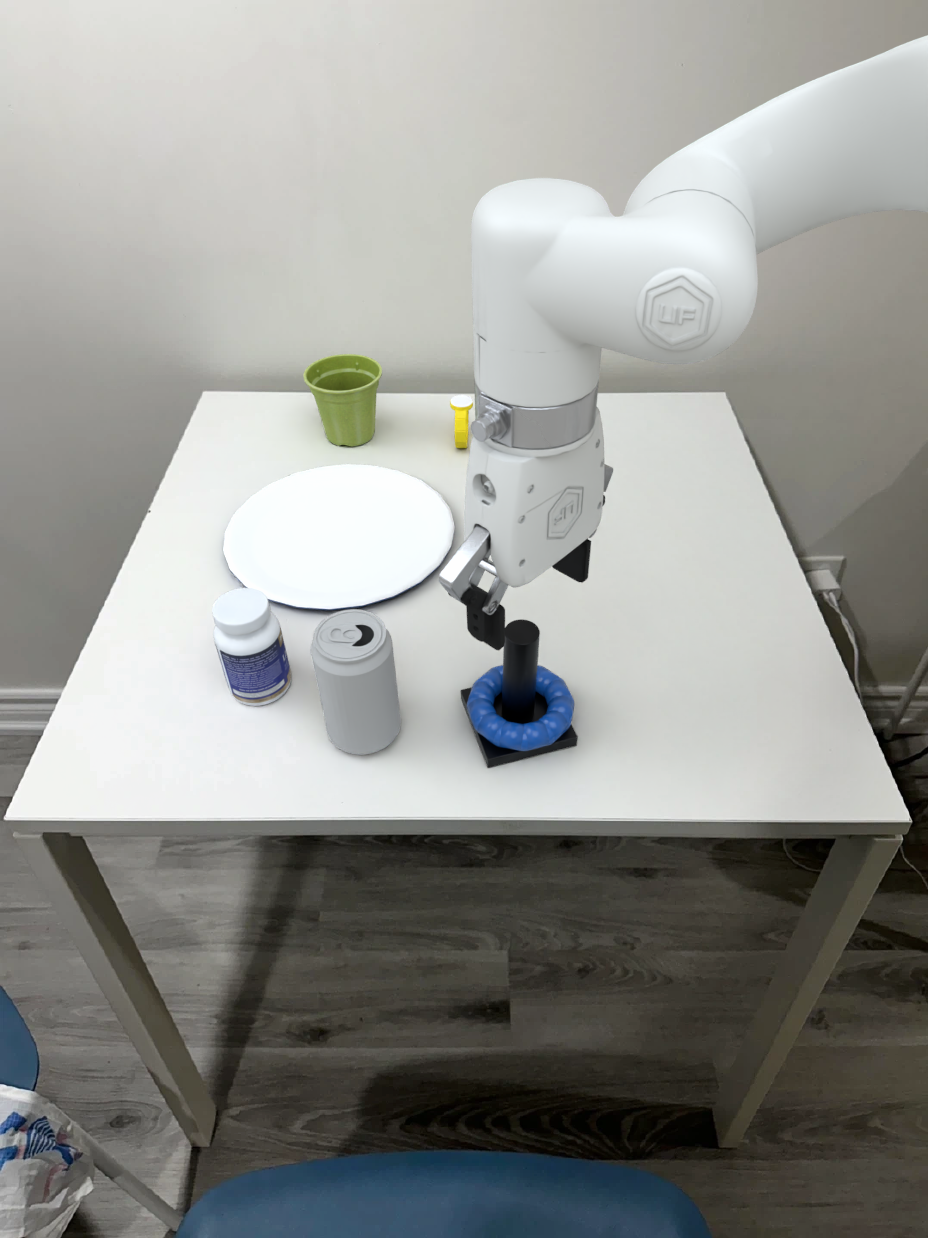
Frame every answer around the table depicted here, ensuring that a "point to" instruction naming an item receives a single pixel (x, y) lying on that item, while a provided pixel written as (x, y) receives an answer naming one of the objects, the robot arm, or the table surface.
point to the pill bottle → (250, 647)
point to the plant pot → (345, 396)
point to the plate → (339, 536)
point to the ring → (516, 733)
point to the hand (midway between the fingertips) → (529, 605)
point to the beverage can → (356, 681)
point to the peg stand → (519, 695)
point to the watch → (461, 418)
